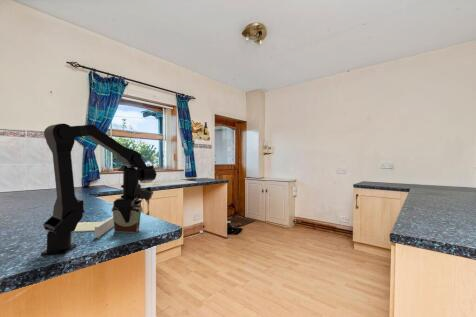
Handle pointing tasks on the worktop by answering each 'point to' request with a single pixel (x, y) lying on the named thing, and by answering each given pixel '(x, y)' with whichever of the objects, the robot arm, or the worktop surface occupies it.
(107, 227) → the low wall
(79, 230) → the resting mat
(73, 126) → the robot arm
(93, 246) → the worktop surface
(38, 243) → the worktop surface
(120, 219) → the food container
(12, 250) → the worktop surface
